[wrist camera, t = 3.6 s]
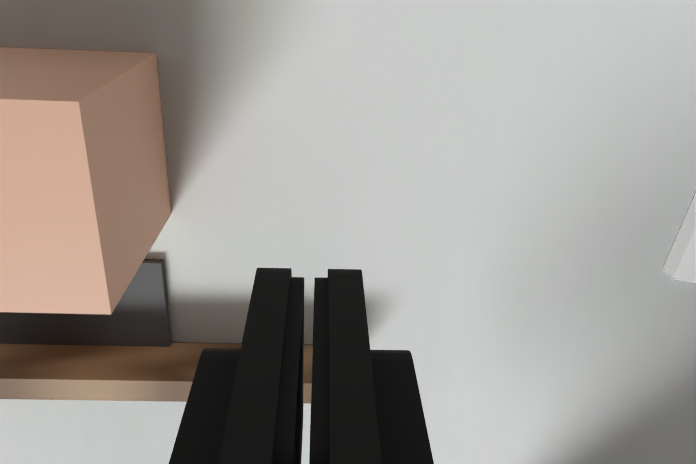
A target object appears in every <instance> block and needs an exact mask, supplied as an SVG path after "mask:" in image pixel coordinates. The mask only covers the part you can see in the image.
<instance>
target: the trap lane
mask: <svg viewBox="0 0 696 464" xmlns="http://www.w3.org/2000/svg"><path fill="white" fill-rule="evenodd" d="M241 346H242V344H222V343H172V342H171V332H170V323H169V314H168V304H167V295H166V285H165V276H164V267H163V260H150V259H144V260H143V262H142V264H141V265H140V267H139V269H138V270H137V272H136V274H135V275H134V277H133V279H132V281H131V282H130V284H129V286H128V287H127V289H126V291H125V292H124V294H123V296H122V297H121V299H120V301H119V302H118V304H117V306H116V307H115V309H114V311H113V312H112V314H111V315H108V314H63V313H17V312H0V399H45V400H114V401H183V402H187V399H188V396H189V393H190V389H191V386H192V382H193V379H194V375H195V372H196V368H197V365H198V361H199V358H200V355H201V353H202V351H203V350H204V349H205V348H224V349H241ZM312 357H313V345H304V370H303V403H311V392H312Z"/></svg>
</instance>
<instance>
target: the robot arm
mask: <svg viewBox="0 0 696 464" xmlns="http://www.w3.org/2000/svg"><path fill="white" fill-rule="evenodd" d="M303 370H304V278H302V277H292V274H291V268H257V270H256V275H255V280H254V285H253V290H252V295H251V300H250V305H249V310H248V315H247V321H246V326H245V331H244V336H243V341H242V346H241V349H224V348H205V349H204V350H203V351H202V353H201V355H200V358H199V361H198V365H197V368H196V372H195V375H194V379H193V382H192V386H191V389H190V393H189V396H188V399H187V403H186V406H185V410H184V413H183V417H182V420H181V424H180V427H179V431H178V434H177V437H176V441H175V444H174V448H173V451H172V455H171V458H170V462H169V464H301V452H302V430H303ZM310 464H434V463H433V458H432V453H431V448H430V443H429V438H428V433H427V428H426V423H425V418H424V413H423V408H422V403H421V398H420V394H419V389H418V384H417V379H416V374H415V369H414V364H413V359H412V355H411V353H410V351H409V350H370V344H369V335H368V325H367V316H366V307H365V297H364V288H363V278H362V270H352V269H328V278H315V288H314V322H313V357H312V392H311V426H310Z"/></svg>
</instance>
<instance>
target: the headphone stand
mask: <svg viewBox="0 0 696 464" xmlns="http://www.w3.org/2000/svg"><path fill="white" fill-rule="evenodd" d="M663 270H664V271H665V272H666V273H667V274H668V275H669V276H670V277H671V278H672V279H674V280H681V281H687V282H692V283H696V193H695V196H694V198H693V200H692V202H691V205H690V207H689V209H688V212H687V214H686V216H685V218H684V221H683V223H682V225H681V228H680V230H679V232H678V235H677V237H676V239H675V241H674V244H673V246H672V248H671V251H670V253H669V255H668V257H667V260H666V262H665V264H664V267H663Z"/></svg>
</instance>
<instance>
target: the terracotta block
mask: <svg viewBox="0 0 696 464" xmlns="http://www.w3.org/2000/svg"><path fill="white" fill-rule="evenodd" d="M170 215H171V206H170V195H169V184H168V174H167V163H166V152H165V142H164V131H163V120H162V109H161V99H160V88H159V77H158V67H157V56H156V53H146V52H120V51H94V50H68V49H42V48H15V47H0V312H17V313H63V314H108V315H111V314H112V312H113V311H114V309H115V307H116V306H117V304H118V302H119V301H120V299H121V297H122V296H123V294H124V292H125V291H126V289H127V287H128V286H129V284H130V282H131V281H132V279H133V277H134V275H135V274H136V272H137V270H138V269H139V267H140V265H141V264H142V262H143V260H144V259H145V257H146V255H147V254H148V252H149V250H150V249H151V247H152V245H153V244H154V242H155V240H156V238H157V237H158V235H159V233H160V232H161V230H162V228H163V227H164V225H165V223H166V222H167V220H168V218H169V217H170Z"/></svg>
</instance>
